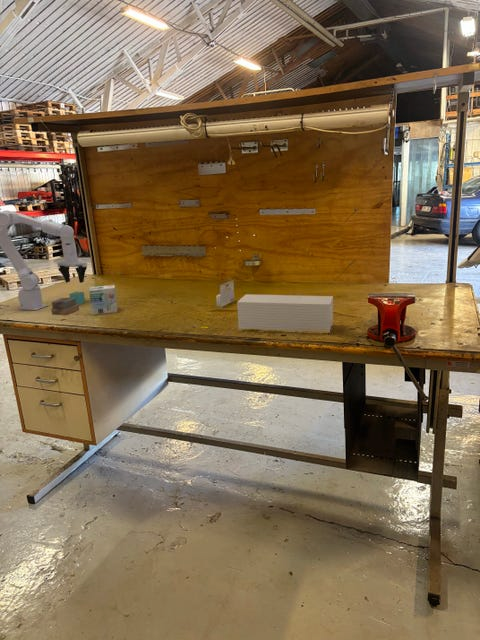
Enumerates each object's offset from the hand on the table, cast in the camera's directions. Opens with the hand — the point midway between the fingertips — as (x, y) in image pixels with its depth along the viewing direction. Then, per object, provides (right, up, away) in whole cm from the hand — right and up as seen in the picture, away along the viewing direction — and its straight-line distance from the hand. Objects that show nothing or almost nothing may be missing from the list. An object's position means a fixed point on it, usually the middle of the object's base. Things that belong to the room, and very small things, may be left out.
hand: (74, 282), depth 208 cm
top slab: (0, -12, -12) cm, 16 cm away
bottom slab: (0, -14, -11) cm, 18 cm away
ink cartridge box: (+70, -11, -12) cm, 72 cm away
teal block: (+1, -10, +3) cm, 10 cm away
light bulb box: (+18, -14, -14) cm, 27 cm away
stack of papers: (+93, -21, -47) cm, 106 cm away
